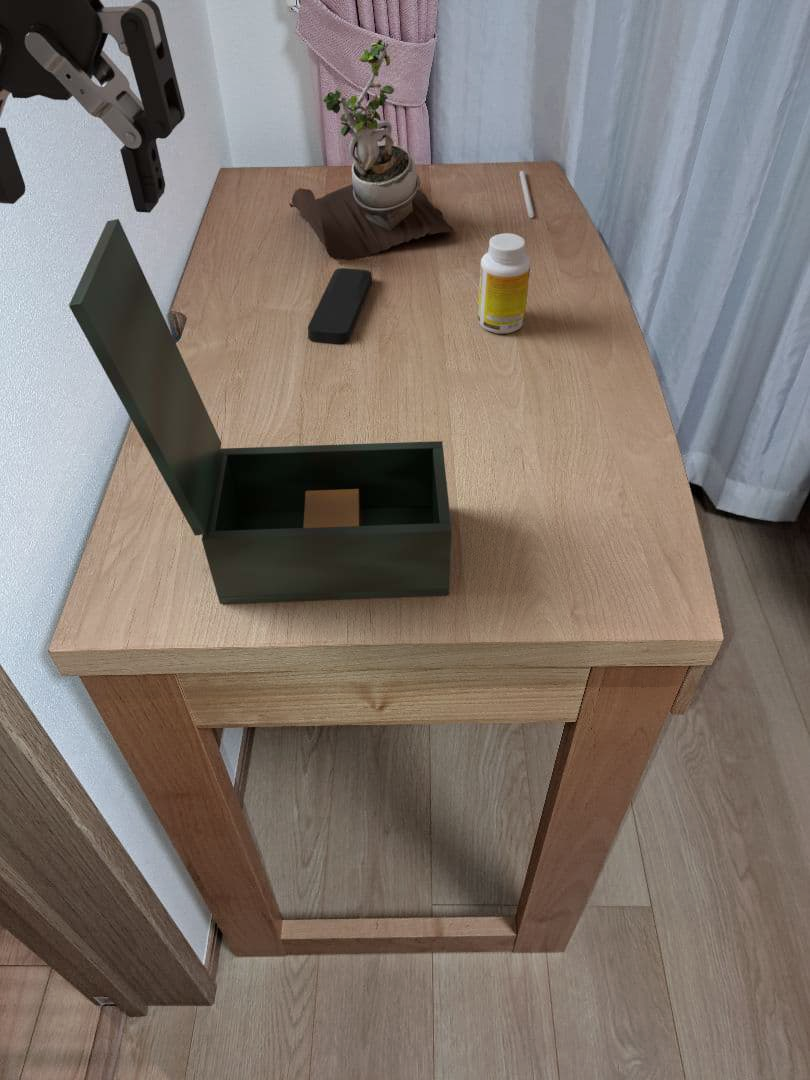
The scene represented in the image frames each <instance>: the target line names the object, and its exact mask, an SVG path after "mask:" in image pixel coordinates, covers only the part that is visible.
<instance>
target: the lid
mask: <svg viewBox="0 0 810 1080" xmlns="http://www.w3.org/2000/svg"><path fill="white" fill-rule="evenodd" d="M68 307H69V309H70V311H71V313H72V314H73V316H74V318H75V320H76V322H77V323H78V325H79V327H80V329H81V331H82V333H83V334H84V336H85V338H86V340H87V342H88V344H89V345H90V347H91V349H92V351H93V353H94V354H95V356H96V358H97V360H98V362H99V364H100V366H101V367H102V369H103V371H104V373H105V375H106V377H107V378H108V381H109V382H110V384H111V386H112V387H113V390H114V391H115V393H116V394H117V397H118V399H119V400H120V402H121V404H122V406H123V407H124V410H125V411H126V413H127V415H128V417H129V419H130V421H131V422H132V425H134V427H135V429H136V432H137V433H138V435H139V437H140V439H141V440H142V442H143V444H144V446H145V447H146V449H147V451H148V453H149V455H150V456H151V458H152V460H153V462H154V465H156V467H157V470H158V471H159V473H160V475H161V476H162V478H163V481H164V482H165V484H166V486H167V488H168V489H169V491H170V493H171V495H172V497H173V499H174V500H175V502H176V504H177V506H178V507H179V510H180V511H181V513H182V515H183V516H184V518H185V520H186V522H187V525H188V526H189V528H190V530H191V531H192V533H193V535H194V536H195V537H196V536H202V535H204V534H205V533H206V527H207V521H208V516H209V510H210V505H211V499H212V494H213V488H214V482H215V477H216V471H217V466H218V460H219V454H220V449H221V448H222V441H221V439H220V437H219V434H218V432H217V430H216V427H215V425H214V423H213V421H212V420H211V417H210V415H209V413H208V410H207V409H206V406H205V404H204V402H203V400H202V397H201V396H200V393H199V390H198V389H197V387H196V385H195V381H194V380H193V378H192V376H191V374H190V371H189V369H188V366H187V364H186V362H185V360H184V357H183V355H182V354H181V352H180V349H179V347H178V346H177V343H176V341H175V339H174V336H173V333H172V332H171V330H170V328H169V326H168V323H167V321H166V319H165V316H164V314H163V313H162V310H161V308H160V306H159V303H158V302H157V299H156V297H155V295H154V292H153V290H152V288H151V287H150V284H149V282H148V280H147V277H146V275H145V273H144V271H143V269H142V266H141V265H140V263H139V260H138V258H137V256H136V254H135V252H134V249H133V247H132V245H131V243H130V240H129V238H128V236H127V234H126V231H125V230H124V227H123V225H122V223H121V222H120V218H115V219H112V220H111V219H110V220H107V221H106V223H105V225H104V227H103V229H102V232H101V233H100V236H99V238H98V240H97V243H96V244H95V247H94V249H93V252H92V254H91V256H90V258H89V260H88V263H87V265H86V266H85V269H84V272H83V273H82V276H81V277H80V280H79V282H78V284H77V287H76V289H75V291H74V293H73V296H72V298H71V300H70V302H69V304H68Z"/></svg>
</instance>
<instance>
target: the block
mask: <svg viewBox="0 0 810 1080" xmlns="http://www.w3.org/2000/svg"><path fill="white" fill-rule="evenodd" d="M347 526H362V523H361V509H360V495H359V489H342V490H315V491H305V506H304V522H303V528H318V527H347Z"/></svg>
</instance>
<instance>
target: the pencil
mask: <svg viewBox="0 0 810 1080" xmlns="http://www.w3.org/2000/svg"><path fill="white" fill-rule="evenodd" d="M518 174H519V179H520V183H521V188H522V192H523V196H524V202H525V207H526V210H527V216H528V218H529V219H534V217H535V212H534V208H533V204H532V199H531V195H530V189H529V185H528V181H527V174H526V172H525V171H524V170H520V171H519V173H518Z"/></svg>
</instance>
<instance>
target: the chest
mask: <svg viewBox="0 0 810 1080" xmlns="http://www.w3.org/2000/svg"><path fill="white" fill-rule="evenodd" d="M444 453H445V452H444V445H443V441H442V440H438V441H437V440H435V441H433V440H432V441H408V442H406V441H405V442H376V443H375V442H374V443H373V442H371V443H348V444H347V443H345V444H344V443H343V444H316V445H315V444H314V445H313V444H312V445H311V444H310V445H283V446H256V447H255V446H254V447H251V446H250V447H226V448H225V447H224V448H223V447H221V449H220V454H219V460H218V466H217V471H216V477H215V482H214V488H213V494H212V499H211V505H210V510H209V516H208V521H207V527H206V533H205V534H204V535H201V536H202V537H201V543H202V546H203V549H204V553H205V557H206V560H207V564H208V568H209V571H210V576H211V578H212V581H213V585H214V588H215V592H216V596H217V599H218V602H219V603H218V604H219V605H220V604H221V605H222V604H223V605H225V604H226V605H227V604H248V603H249V604H250V603H253V604H254V603H278V602H304V601H308V602H309V601H332V600H333V601H334V600H335V601H336V600H358V599H359V600H360V599H383V598H384V599H386V598H389V599H390V598H413V597H414V598H415V597H418V598H419V597H441V596H449V595H450V583H451V582H450V581H451V561H452V560H451V559H452V537H453V536H452V535H453V529H452V521H451V511H450V510H451V509H450V502H449V491H448V481H447V473H446V462H445V454H444ZM342 489H359V495H360V509H361V523H362V526H347V527H318V528H303V522H304V506H305V491H315V490H342Z"/></svg>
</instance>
